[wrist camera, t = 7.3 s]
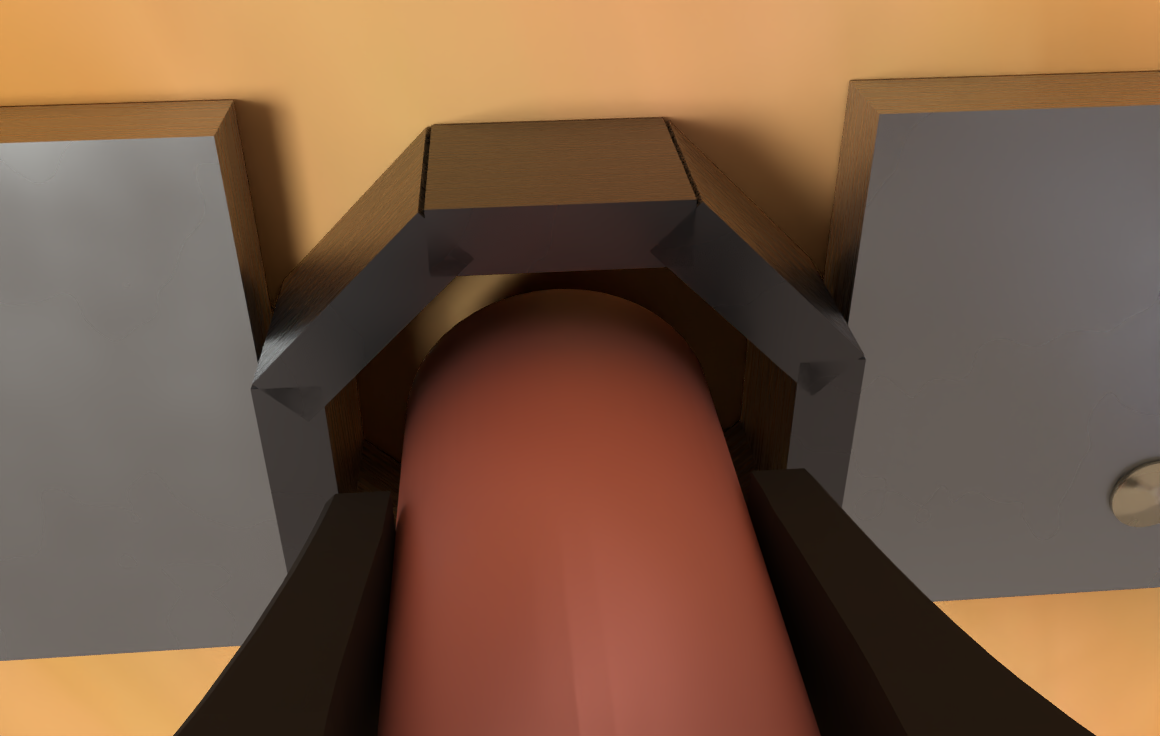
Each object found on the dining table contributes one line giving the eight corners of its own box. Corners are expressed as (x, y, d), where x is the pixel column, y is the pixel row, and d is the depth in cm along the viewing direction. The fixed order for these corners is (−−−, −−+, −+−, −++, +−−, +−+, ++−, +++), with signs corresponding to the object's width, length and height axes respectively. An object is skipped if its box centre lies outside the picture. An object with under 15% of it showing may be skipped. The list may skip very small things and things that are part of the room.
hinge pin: (701, 529, 16) (870, 1178, 9) (418, 545, 15) (378, 1226, 9) (719, 281, 14) (960, 895, 7) (390, 295, 13) (308, 947, 7)
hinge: (1362, 522, 19) (1473, 630, 17) (-336, 624, 17) (-449, 761, 15) (1594, 57, 14) (1784, 125, 12) (-653, 127, 13) (-878, 220, 11)
